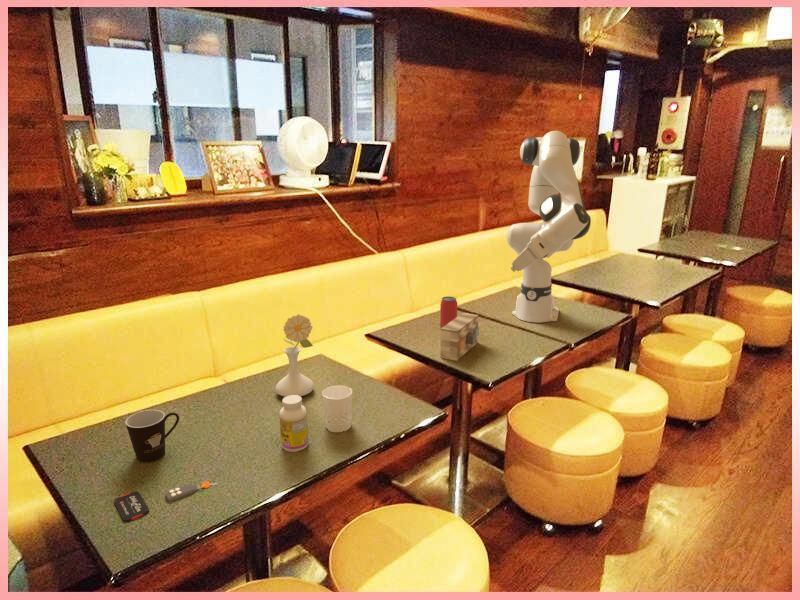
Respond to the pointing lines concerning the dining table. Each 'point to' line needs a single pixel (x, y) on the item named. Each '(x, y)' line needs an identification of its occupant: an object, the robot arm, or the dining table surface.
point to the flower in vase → (295, 357)
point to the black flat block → (131, 506)
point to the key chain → (185, 491)
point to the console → (457, 336)
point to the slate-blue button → (476, 331)
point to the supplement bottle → (293, 424)
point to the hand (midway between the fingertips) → (513, 269)
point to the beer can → (447, 310)
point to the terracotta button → (461, 344)
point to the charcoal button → (470, 338)
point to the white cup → (337, 408)
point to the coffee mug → (148, 434)
